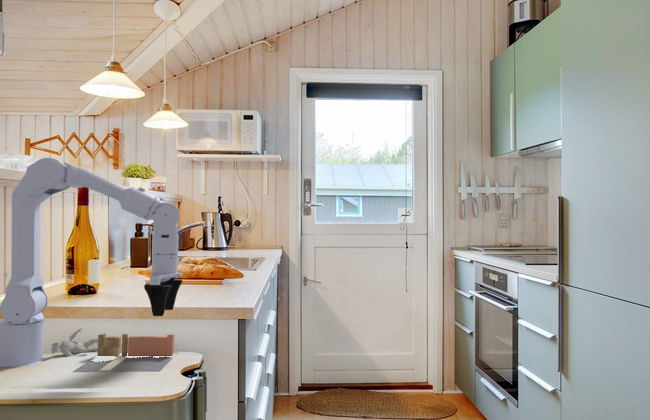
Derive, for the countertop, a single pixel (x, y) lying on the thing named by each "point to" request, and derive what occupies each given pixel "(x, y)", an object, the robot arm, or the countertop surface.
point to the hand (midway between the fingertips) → (163, 312)
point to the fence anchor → (112, 345)
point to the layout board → (126, 364)
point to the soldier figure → (75, 346)
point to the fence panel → (151, 345)
